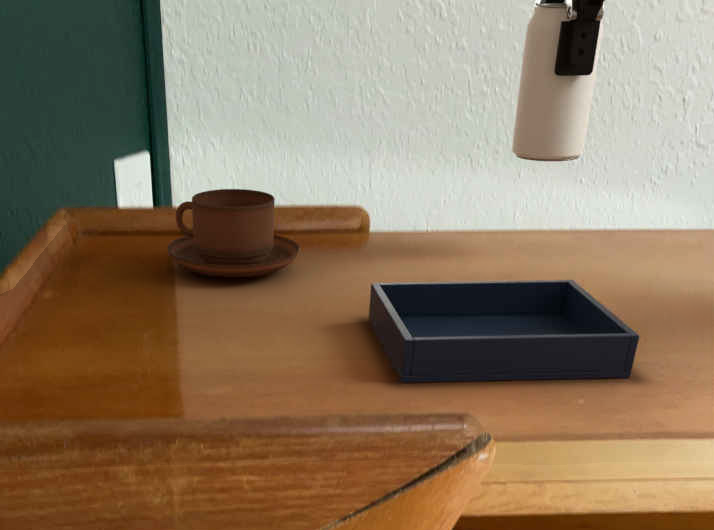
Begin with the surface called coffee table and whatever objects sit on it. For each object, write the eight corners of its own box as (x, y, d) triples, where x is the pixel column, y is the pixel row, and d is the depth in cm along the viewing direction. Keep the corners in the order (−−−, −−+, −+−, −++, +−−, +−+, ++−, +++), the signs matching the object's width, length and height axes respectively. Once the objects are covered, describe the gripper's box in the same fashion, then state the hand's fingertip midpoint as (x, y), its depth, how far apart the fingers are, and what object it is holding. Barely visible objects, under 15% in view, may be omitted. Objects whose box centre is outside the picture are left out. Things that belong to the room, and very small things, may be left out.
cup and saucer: (153, 283, 84) (149, 209, 81) (186, 248, 94) (184, 181, 91) (287, 291, 83) (289, 216, 79) (307, 255, 92) (309, 186, 89)
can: (510, 160, 87) (529, 6, 81) (511, 149, 93) (530, 3, 86) (583, 163, 86) (609, 5, 79) (581, 151, 91) (605, 2, 85)
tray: (565, 317, 78) (572, 279, 76) (630, 377, 67) (640, 335, 65) (368, 320, 76) (371, 282, 75) (401, 383, 66) (405, 340, 64)
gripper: (691, -204, 68) (638, 80, 78) (600, -175, 83) (566, 62, 93) (588, -204, 68) (549, 82, 78) (515, -175, 82) (490, 63, 92)
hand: (558, 69), depth 85 cm, fingers closed on can, 6 cm apart
